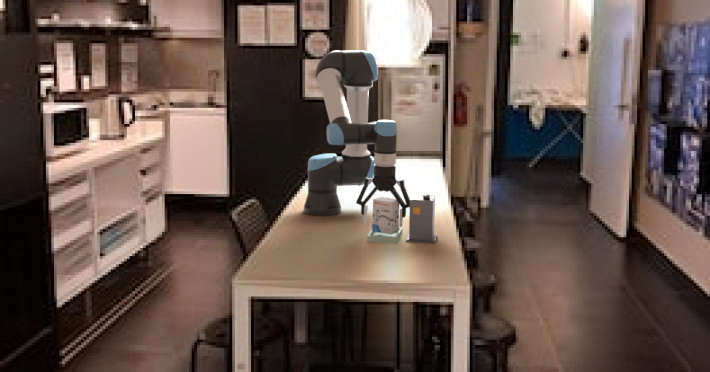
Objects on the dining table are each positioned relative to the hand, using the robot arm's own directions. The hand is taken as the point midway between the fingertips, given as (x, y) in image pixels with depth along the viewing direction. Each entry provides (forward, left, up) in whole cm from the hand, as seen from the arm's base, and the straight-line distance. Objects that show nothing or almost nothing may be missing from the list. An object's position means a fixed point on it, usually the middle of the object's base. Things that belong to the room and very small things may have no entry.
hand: (383, 225), depth 277 cm
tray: (+1, 0, -4) cm, 4 cm away
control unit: (+14, 0, -4) cm, 14 cm away
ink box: (+1, 0, -3) cm, 3 cm away
